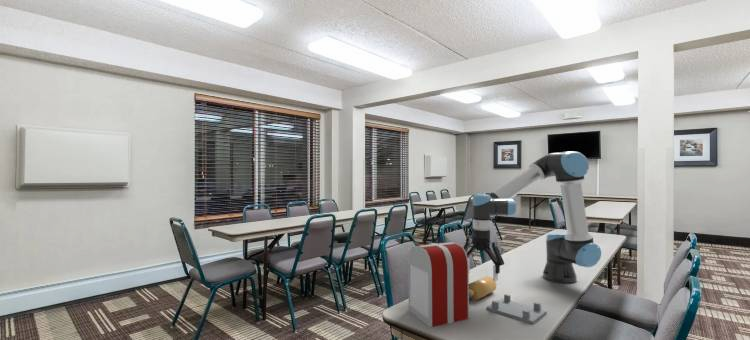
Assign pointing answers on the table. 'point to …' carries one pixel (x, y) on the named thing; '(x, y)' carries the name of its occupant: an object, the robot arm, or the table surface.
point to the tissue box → (439, 283)
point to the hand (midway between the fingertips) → (480, 277)
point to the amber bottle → (481, 287)
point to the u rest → (517, 310)
